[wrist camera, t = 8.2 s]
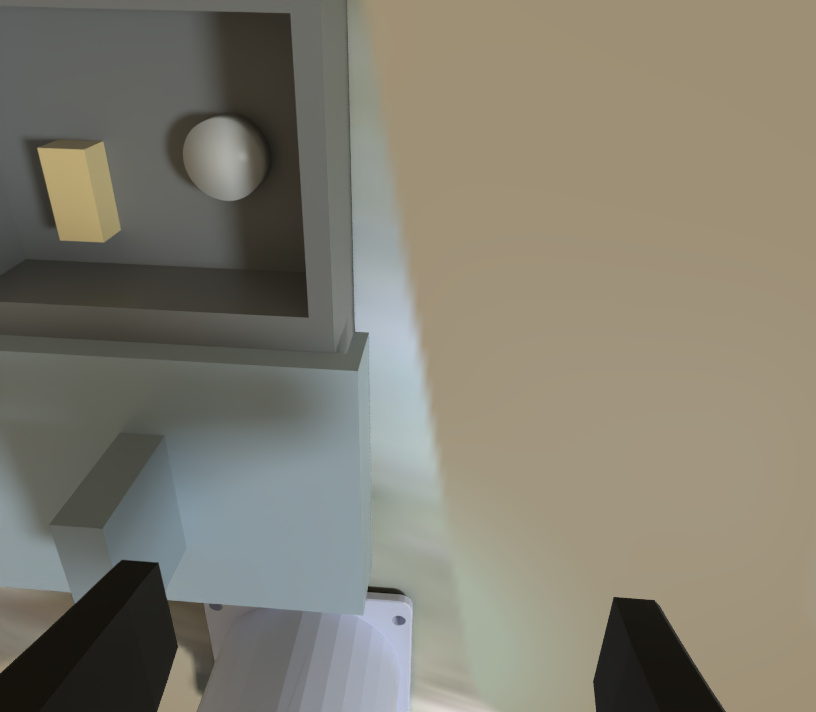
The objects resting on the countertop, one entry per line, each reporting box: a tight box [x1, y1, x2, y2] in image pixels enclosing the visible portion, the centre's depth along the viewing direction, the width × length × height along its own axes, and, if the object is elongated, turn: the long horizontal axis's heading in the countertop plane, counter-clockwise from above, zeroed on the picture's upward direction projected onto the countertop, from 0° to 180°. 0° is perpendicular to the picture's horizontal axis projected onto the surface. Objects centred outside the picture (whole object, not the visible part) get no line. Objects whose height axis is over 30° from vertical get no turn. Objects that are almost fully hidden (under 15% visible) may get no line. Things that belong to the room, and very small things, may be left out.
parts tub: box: [0, 0, 355, 354], centre depth 18 cm, size 16×10×3 cm, turn 179°
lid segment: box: [0, 332, 372, 616], centre depth 18 cm, size 9×11×5 cm
